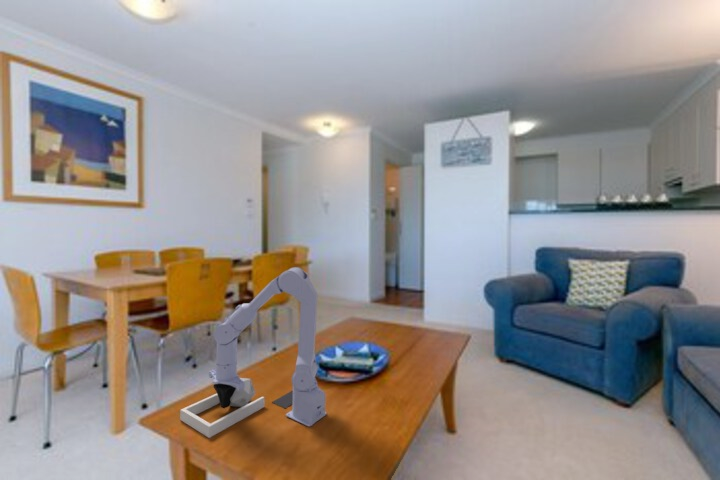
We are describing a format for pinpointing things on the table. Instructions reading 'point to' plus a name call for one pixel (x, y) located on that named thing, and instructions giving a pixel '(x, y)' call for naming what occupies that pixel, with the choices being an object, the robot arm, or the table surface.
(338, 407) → the table surface
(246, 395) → the die
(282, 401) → the hole mat
